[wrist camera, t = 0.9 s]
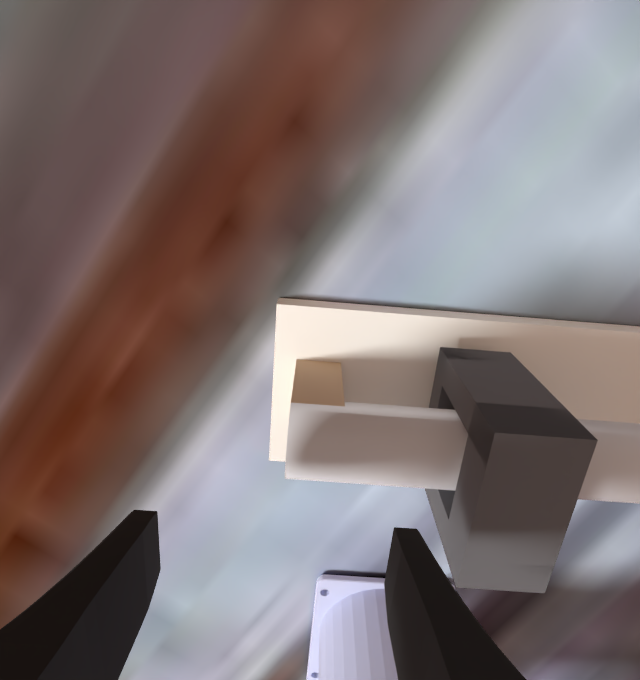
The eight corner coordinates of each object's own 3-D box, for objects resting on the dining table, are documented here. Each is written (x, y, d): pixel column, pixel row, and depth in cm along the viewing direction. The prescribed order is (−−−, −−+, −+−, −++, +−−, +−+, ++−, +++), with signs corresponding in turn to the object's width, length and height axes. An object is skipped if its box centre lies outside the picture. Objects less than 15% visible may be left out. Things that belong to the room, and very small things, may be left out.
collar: (481, 470, 22) (544, 593, 15) (417, 466, 22) (456, 587, 15) (510, 352, 19) (597, 440, 13) (440, 347, 19) (494, 432, 13)
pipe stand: (822, 487, 24) (990, 597, 18) (271, 448, 24) (253, 548, 17) (903, 347, 21) (1134, 421, 15) (278, 297, 21) (260, 354, 15)
